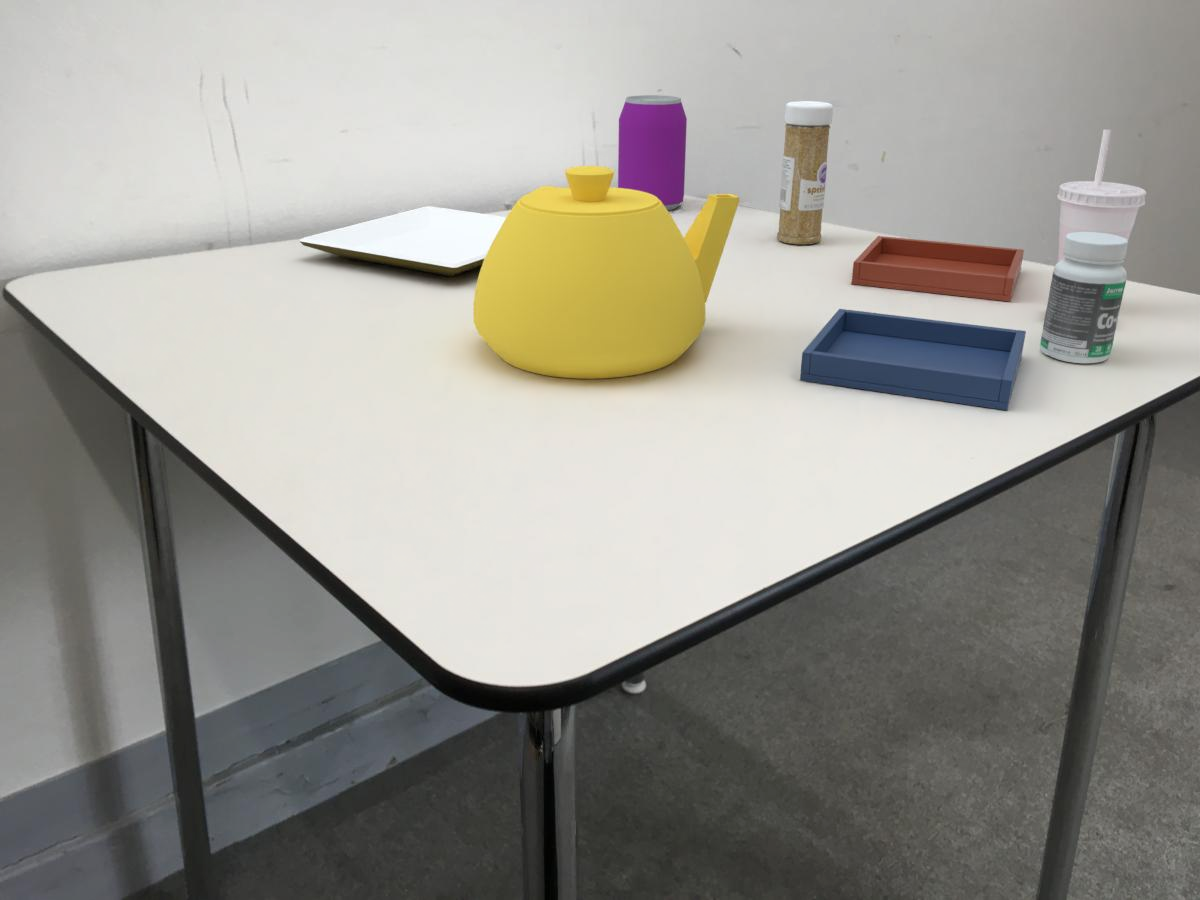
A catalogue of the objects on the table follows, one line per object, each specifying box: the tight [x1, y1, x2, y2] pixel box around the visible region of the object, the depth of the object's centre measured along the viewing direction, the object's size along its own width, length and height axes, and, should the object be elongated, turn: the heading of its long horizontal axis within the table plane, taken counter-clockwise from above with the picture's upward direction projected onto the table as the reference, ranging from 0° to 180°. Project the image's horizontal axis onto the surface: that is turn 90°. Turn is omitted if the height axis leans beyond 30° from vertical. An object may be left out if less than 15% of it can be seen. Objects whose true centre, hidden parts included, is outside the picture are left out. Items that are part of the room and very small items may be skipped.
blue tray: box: [799, 308, 1027, 411], centre depth 75 cm, size 13×11×2 cm
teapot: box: [473, 165, 740, 380], centre depth 78 cm, size 20×19×13 cm
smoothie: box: [1056, 128, 1147, 263], centre depth 86 cm, size 6×6×14 cm
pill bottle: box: [1039, 232, 1129, 364], centre depth 77 cm, size 5×5×8 cm
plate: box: [298, 205, 507, 277], centre depth 105 cm, size 19×19×2 cm
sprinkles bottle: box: [776, 100, 834, 246], centre depth 108 cm, size 5×5×13 cm
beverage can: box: [617, 94, 688, 211], centre depth 124 cm, size 8×8×12 cm
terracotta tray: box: [850, 235, 1025, 302], centre depth 97 cm, size 13×11×2 cm
